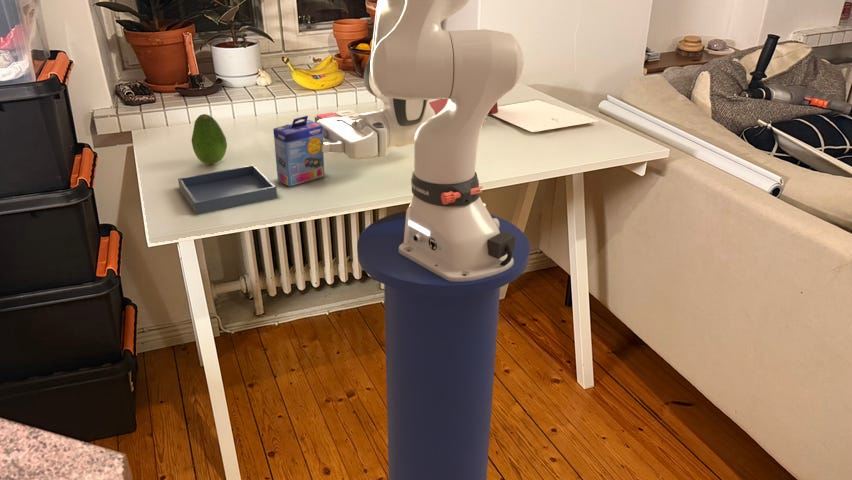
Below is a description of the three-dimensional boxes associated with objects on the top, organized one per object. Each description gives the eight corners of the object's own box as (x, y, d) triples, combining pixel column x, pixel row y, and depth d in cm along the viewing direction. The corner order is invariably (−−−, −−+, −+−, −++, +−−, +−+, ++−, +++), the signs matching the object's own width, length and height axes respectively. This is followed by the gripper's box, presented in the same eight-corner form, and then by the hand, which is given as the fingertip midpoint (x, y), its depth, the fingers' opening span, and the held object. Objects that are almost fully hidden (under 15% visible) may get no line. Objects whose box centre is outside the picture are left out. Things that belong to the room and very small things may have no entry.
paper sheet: (522, 136, 179) (523, 132, 179) (476, 110, 204) (476, 106, 203) (603, 125, 185) (603, 121, 184) (548, 101, 210) (548, 97, 209)
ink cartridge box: (290, 188, 152) (284, 123, 145) (276, 181, 156) (269, 117, 149) (326, 176, 158) (322, 113, 151) (312, 170, 162) (308, 108, 155)
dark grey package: (351, 108, 192) (373, 119, 180) (352, 123, 194) (374, 136, 182) (313, 113, 188) (333, 126, 176) (315, 129, 190) (335, 142, 178)
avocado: (190, 168, 164) (182, 118, 158) (202, 157, 171) (195, 108, 165) (223, 169, 163) (216, 119, 157) (233, 158, 170) (227, 109, 164)
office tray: (277, 197, 148) (276, 186, 147) (196, 214, 141) (194, 203, 140) (255, 175, 160) (254, 164, 158) (179, 189, 153) (177, 178, 152)
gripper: (350, 107, 166) (295, 116, 161) (389, 130, 150) (330, 141, 145) (351, 133, 169) (297, 142, 164) (389, 158, 153) (331, 169, 148)
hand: (313, 142), depth 154 cm, fingers open, 8 cm apart
